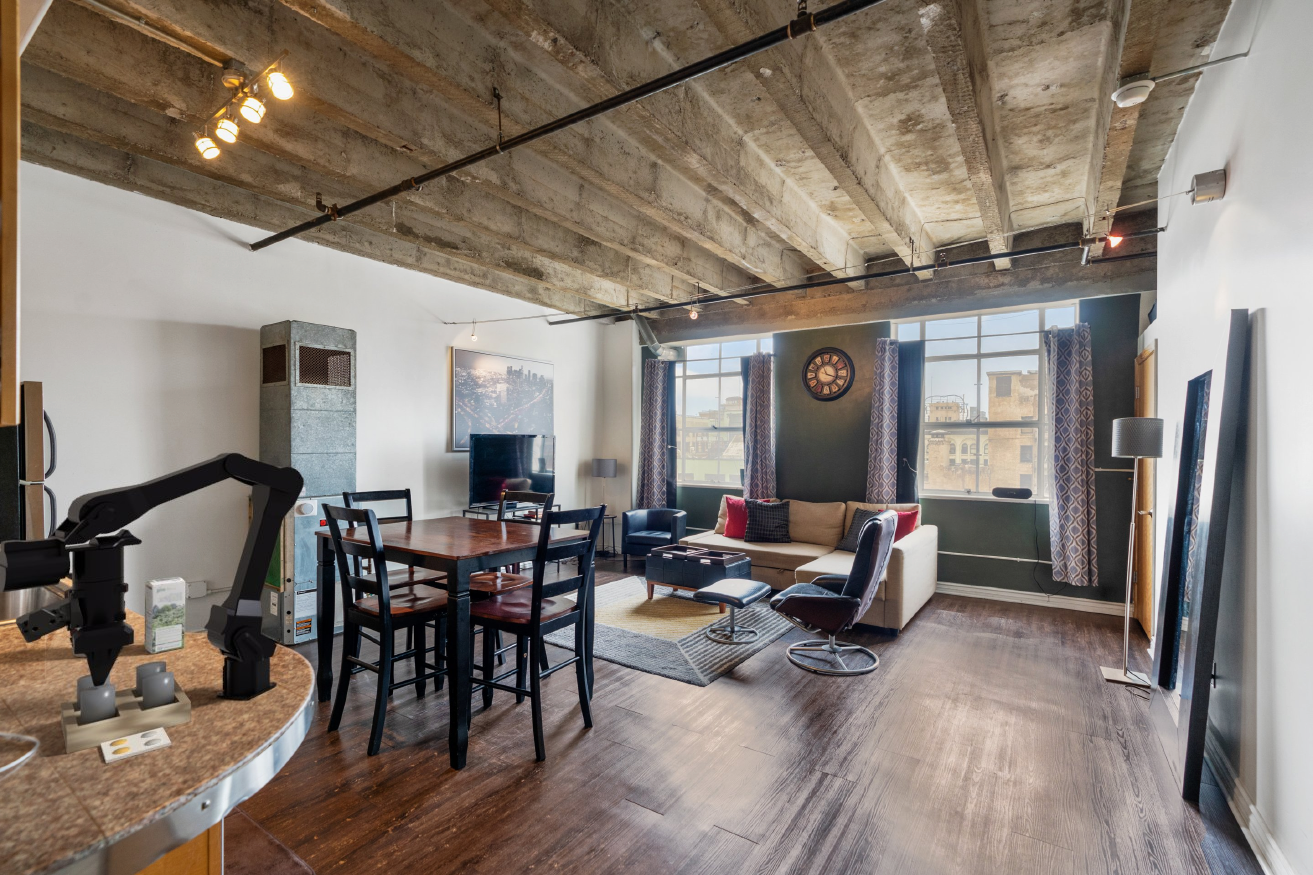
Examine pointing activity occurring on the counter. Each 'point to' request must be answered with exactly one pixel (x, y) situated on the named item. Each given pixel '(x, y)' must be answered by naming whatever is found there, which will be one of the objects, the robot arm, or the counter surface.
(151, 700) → the button
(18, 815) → the counter surface
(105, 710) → the button
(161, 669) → the button
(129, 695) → the button board
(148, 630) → the syrup box
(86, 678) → the button
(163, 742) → the pattern tile
